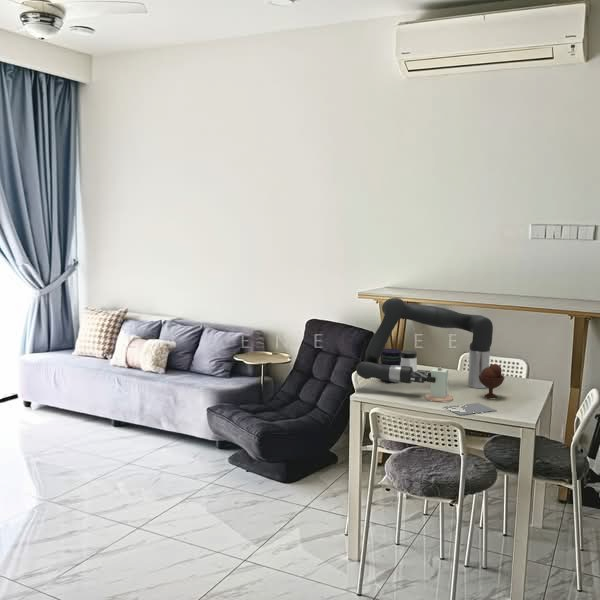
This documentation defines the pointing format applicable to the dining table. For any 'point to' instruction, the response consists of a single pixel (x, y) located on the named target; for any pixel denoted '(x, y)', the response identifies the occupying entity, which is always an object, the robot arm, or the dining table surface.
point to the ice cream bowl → (491, 378)
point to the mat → (471, 409)
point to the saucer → (447, 398)
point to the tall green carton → (439, 383)
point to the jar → (409, 359)
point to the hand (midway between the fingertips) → (437, 378)
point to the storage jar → (390, 359)
